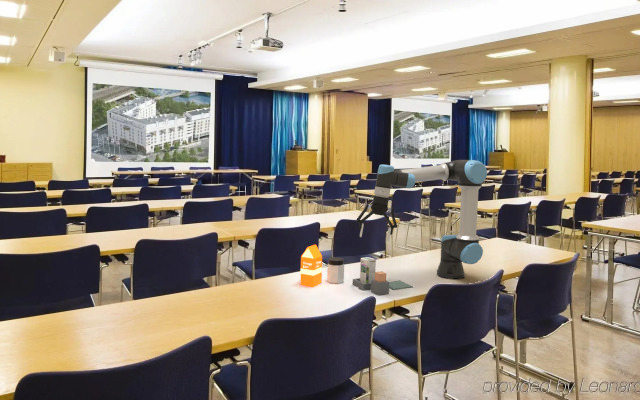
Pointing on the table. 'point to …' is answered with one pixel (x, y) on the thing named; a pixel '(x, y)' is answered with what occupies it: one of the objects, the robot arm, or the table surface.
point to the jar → (335, 270)
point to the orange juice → (311, 267)
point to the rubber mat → (398, 285)
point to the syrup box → (367, 270)
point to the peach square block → (380, 276)
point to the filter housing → (373, 286)
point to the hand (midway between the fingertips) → (374, 238)
